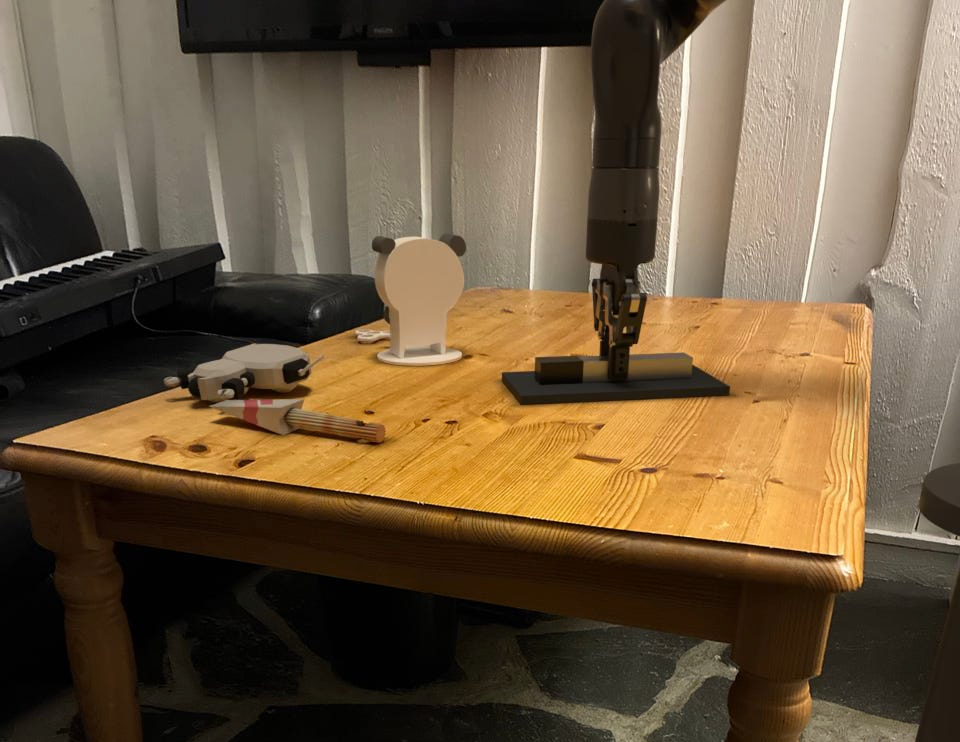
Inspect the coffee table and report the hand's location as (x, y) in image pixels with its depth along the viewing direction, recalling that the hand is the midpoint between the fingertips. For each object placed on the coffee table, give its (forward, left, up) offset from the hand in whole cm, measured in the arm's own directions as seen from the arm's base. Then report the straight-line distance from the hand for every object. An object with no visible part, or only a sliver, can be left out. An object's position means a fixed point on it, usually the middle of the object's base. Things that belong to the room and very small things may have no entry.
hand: (612, 376), depth 109 cm
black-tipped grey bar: (0, 0, 0) cm, 0 cm away
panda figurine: (+20, -22, -2) cm, 30 cm away
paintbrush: (+36, +12, -2) cm, 38 cm away
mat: (0, 0, -1) cm, 1 cm away
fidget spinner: (+25, -36, -1) cm, 44 cm away
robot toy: (+42, -4, -2) cm, 42 cm away
